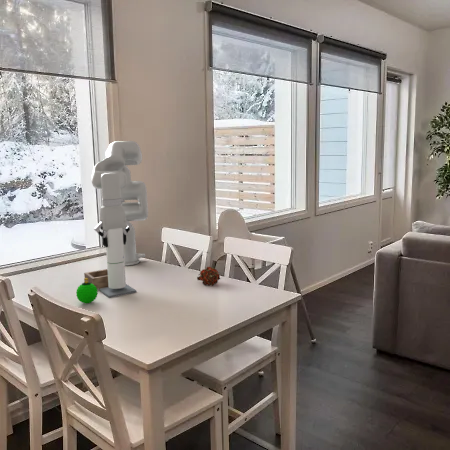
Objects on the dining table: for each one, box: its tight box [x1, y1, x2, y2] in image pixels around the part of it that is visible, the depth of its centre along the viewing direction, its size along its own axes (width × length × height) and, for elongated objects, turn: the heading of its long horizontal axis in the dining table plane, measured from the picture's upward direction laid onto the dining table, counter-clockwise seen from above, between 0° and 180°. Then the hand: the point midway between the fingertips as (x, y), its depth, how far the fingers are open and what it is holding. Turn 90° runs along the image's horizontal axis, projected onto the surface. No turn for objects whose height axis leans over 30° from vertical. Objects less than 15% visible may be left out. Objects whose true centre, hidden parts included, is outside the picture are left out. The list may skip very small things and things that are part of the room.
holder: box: [83, 268, 109, 290], centre depth 211 cm, size 11×11×5 cm
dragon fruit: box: [196, 266, 221, 287], centre depth 208 cm, size 8×8×12 cm
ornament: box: [76, 277, 99, 304], centre depth 187 cm, size 8×8×10 cm
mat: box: [98, 283, 137, 299], centre depth 201 cm, size 12×12×1 cm
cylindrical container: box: [105, 228, 127, 289], centre depth 199 cm, size 7×7×25 cm
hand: (114, 244), depth 198 cm, fingers closed on cylindrical container, 7 cm apart
